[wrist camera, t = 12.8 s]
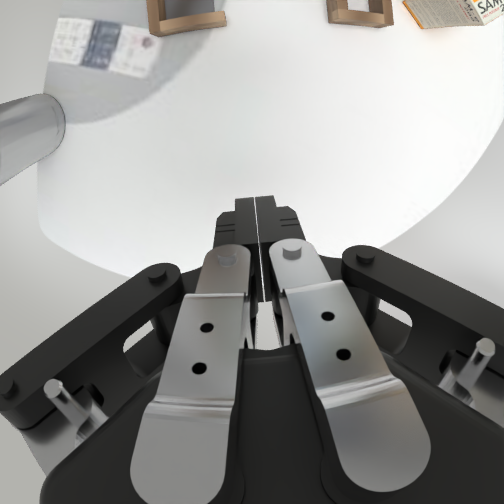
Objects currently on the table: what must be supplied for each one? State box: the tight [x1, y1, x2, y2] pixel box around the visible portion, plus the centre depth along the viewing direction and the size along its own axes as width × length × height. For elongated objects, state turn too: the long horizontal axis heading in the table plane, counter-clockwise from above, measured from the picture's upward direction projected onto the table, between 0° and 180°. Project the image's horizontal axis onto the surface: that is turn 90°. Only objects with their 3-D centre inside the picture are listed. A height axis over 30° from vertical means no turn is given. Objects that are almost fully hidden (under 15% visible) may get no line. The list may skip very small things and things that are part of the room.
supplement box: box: [403, 0, 504, 29], centre depth 20 cm, size 8×5×13 cm, turn 131°
